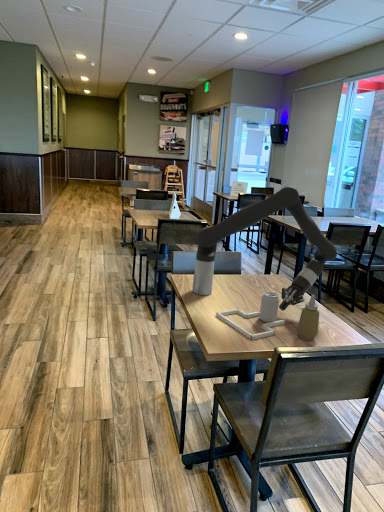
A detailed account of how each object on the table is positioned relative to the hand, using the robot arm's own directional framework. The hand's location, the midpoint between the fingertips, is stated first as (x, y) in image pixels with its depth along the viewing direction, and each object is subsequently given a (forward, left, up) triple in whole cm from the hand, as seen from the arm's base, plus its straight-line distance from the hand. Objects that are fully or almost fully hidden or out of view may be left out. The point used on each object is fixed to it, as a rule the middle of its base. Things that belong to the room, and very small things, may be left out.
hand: (280, 309), depth 171 cm
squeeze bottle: (+11, -17, -4) cm, 20 cm away
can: (-5, -5, -4) cm, 8 cm away
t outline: (-10, -11, -4) cm, 15 cm away
